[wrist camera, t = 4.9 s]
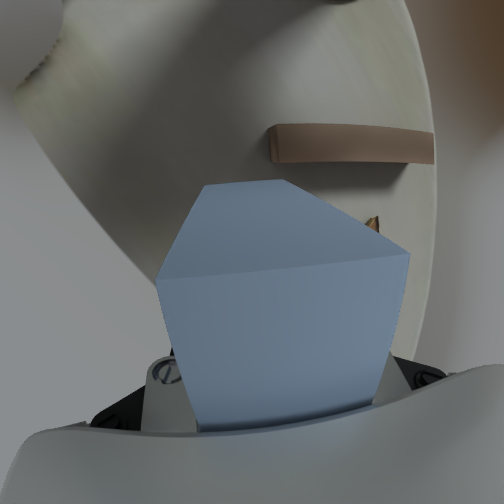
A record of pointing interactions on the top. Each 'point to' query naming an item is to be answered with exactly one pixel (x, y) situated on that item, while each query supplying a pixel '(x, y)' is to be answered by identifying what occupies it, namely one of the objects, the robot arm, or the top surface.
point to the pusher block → (278, 306)
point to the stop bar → (348, 144)
